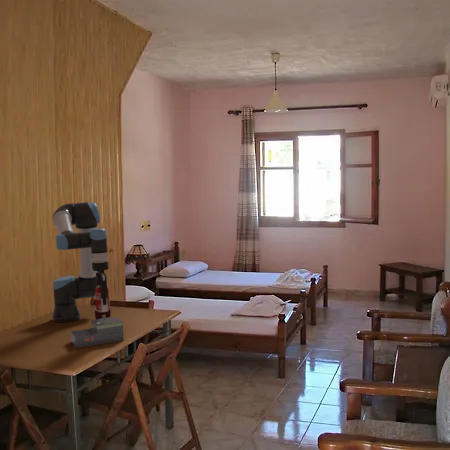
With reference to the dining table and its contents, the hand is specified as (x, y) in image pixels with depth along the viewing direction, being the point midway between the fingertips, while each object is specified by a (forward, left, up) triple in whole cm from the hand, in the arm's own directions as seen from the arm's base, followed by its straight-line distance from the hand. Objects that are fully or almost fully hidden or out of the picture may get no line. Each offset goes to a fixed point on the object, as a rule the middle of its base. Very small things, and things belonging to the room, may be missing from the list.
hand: (103, 310), depth 261 cm
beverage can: (0, 0, -1) cm, 1 cm away
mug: (-21, +3, -15) cm, 26 cm away
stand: (0, -4, -16) cm, 16 cm away
